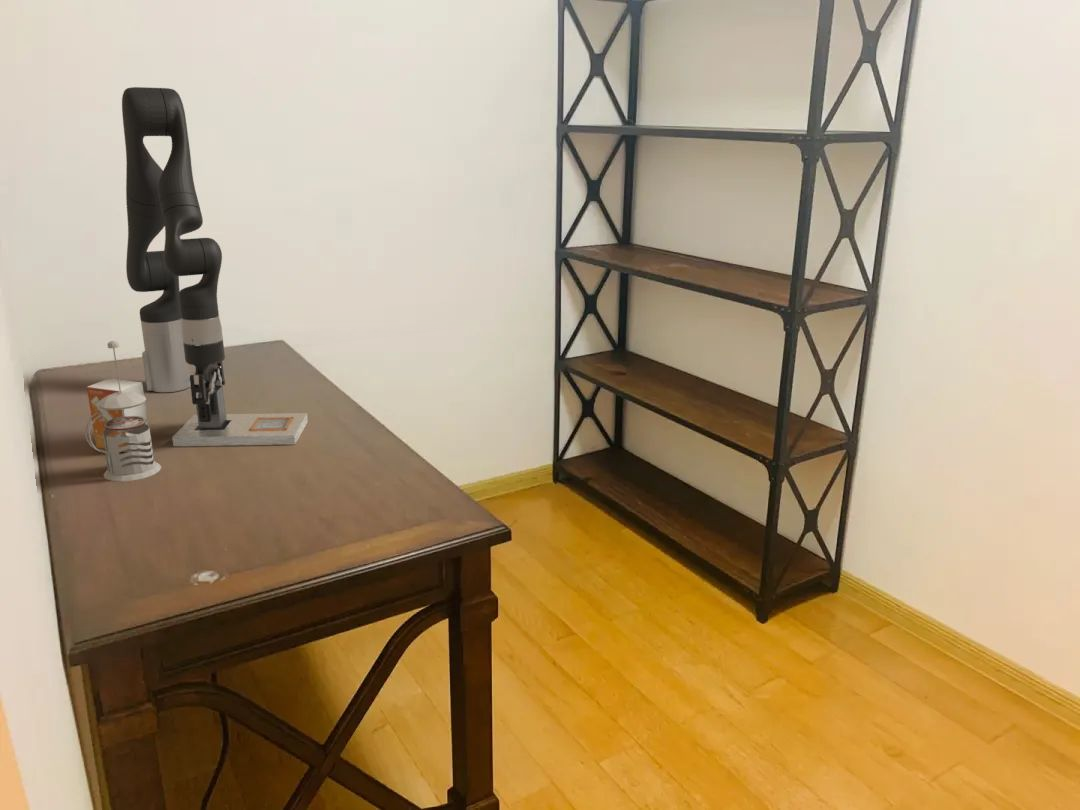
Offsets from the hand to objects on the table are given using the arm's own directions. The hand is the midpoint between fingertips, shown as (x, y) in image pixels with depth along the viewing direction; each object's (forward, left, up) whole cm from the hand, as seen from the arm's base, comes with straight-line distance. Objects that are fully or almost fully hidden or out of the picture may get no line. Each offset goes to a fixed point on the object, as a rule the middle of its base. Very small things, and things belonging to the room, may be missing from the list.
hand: (212, 414), depth 174 cm
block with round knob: (0, 0, -4) cm, 4 cm away
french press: (-10, -20, -5) cm, 23 cm away
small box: (-16, -6, -5) cm, 18 cm away
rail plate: (+6, 0, -4) cm, 7 cm away
